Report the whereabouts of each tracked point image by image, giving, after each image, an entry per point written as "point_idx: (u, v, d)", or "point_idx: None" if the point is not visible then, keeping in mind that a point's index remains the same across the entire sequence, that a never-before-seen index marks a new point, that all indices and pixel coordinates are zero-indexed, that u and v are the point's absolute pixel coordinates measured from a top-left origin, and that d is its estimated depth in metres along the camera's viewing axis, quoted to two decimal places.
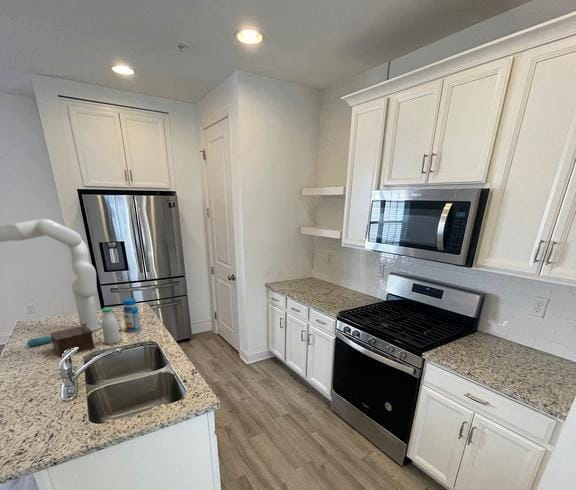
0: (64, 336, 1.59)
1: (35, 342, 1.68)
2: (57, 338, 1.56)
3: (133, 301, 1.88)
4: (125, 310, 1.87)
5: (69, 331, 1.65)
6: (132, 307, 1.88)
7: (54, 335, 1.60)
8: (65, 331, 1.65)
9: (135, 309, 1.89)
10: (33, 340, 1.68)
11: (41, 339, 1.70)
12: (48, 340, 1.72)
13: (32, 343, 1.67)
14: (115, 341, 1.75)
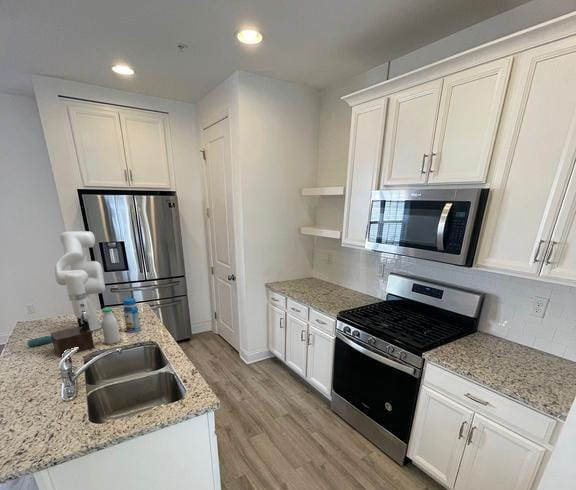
0: (64, 336, 1.59)
1: (35, 342, 1.68)
2: (57, 338, 1.56)
3: (133, 301, 1.88)
4: (125, 310, 1.87)
5: (69, 331, 1.65)
6: (132, 307, 1.88)
7: (54, 335, 1.60)
8: (65, 331, 1.65)
9: (135, 309, 1.89)
10: (33, 340, 1.68)
11: (41, 339, 1.70)
12: (48, 340, 1.72)
13: (32, 343, 1.67)
14: (115, 341, 1.75)
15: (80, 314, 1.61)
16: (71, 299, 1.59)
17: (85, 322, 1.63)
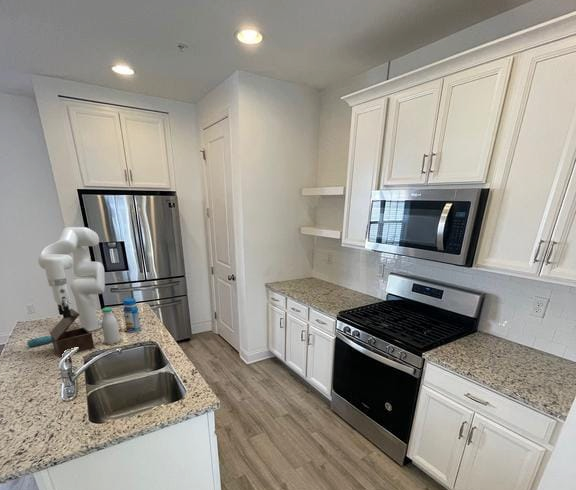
0: (60, 332, 1.57)
1: (35, 342, 1.68)
2: (56, 337, 1.56)
3: (133, 301, 1.88)
4: (125, 310, 1.87)
5: (62, 324, 1.61)
6: (132, 307, 1.88)
7: (53, 334, 1.59)
8: (59, 325, 1.62)
9: (135, 309, 1.89)
10: (33, 340, 1.68)
11: (41, 339, 1.70)
12: (48, 340, 1.72)
13: (32, 343, 1.67)
14: (115, 341, 1.75)
15: (60, 300, 1.53)
16: (50, 284, 1.51)
17: (66, 309, 1.55)
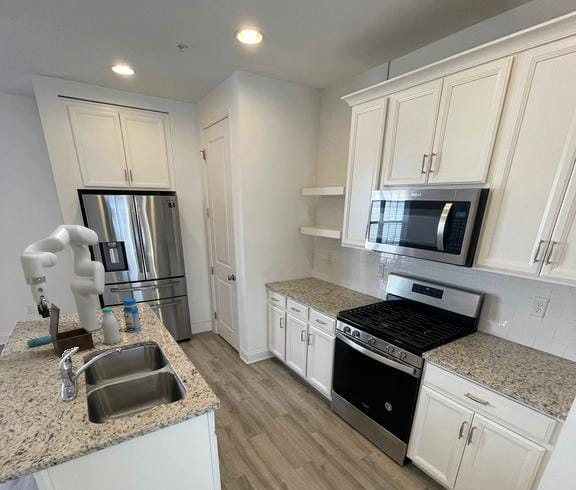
0: (54, 331, 1.55)
1: (35, 342, 1.68)
2: (54, 338, 1.55)
3: (133, 301, 1.88)
4: (125, 310, 1.87)
5: (52, 322, 1.58)
6: (132, 307, 1.88)
7: (51, 335, 1.59)
8: (51, 324, 1.59)
9: (135, 309, 1.89)
10: (33, 340, 1.68)
11: (41, 339, 1.70)
12: (48, 340, 1.72)
13: (32, 343, 1.67)
14: (115, 341, 1.75)
15: (38, 299, 1.46)
16: (28, 283, 1.45)
17: (44, 308, 1.49)
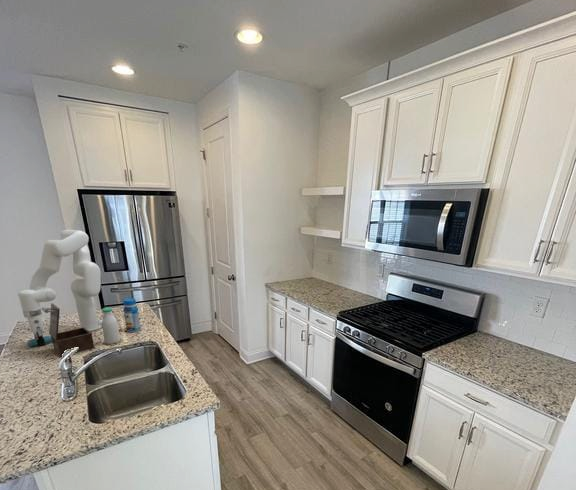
0: (54, 331, 1.55)
1: (35, 342, 1.68)
2: (54, 338, 1.55)
3: (133, 301, 1.88)
4: (125, 310, 1.87)
5: (52, 322, 1.58)
6: (132, 307, 1.88)
7: (51, 335, 1.59)
8: (51, 324, 1.59)
9: (135, 309, 1.89)
10: (33, 340, 1.68)
11: None
12: (48, 340, 1.72)
13: (32, 343, 1.67)
14: (115, 341, 1.75)
15: (35, 330, 1.64)
16: (25, 316, 1.62)
17: (40, 338, 1.67)
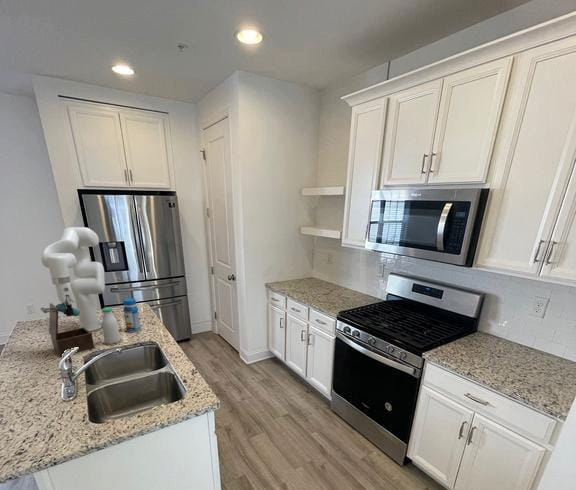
0: (54, 331, 1.55)
1: (64, 307, 1.58)
2: (54, 338, 1.55)
3: (133, 301, 1.88)
4: (125, 310, 1.87)
5: (51, 322, 1.58)
6: (132, 307, 1.88)
7: (51, 335, 1.59)
8: (50, 324, 1.59)
9: (135, 309, 1.89)
10: (64, 305, 1.58)
11: None
12: (76, 312, 1.62)
13: (61, 307, 1.57)
14: (115, 341, 1.75)
15: (64, 298, 1.54)
16: (54, 282, 1.52)
17: (69, 307, 1.57)
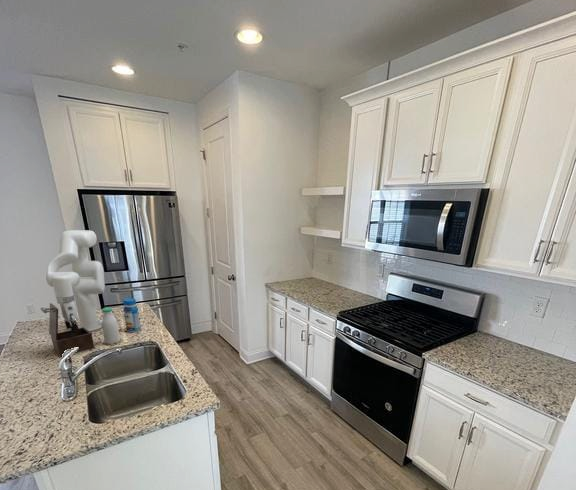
0: (54, 331, 1.55)
1: None
2: (54, 338, 1.55)
3: (133, 301, 1.88)
4: (125, 310, 1.87)
5: (51, 322, 1.58)
6: (132, 307, 1.88)
7: (51, 335, 1.59)
8: (50, 324, 1.59)
9: (135, 309, 1.89)
10: None
11: None
12: None
13: None
14: (115, 341, 1.75)
15: (68, 317, 1.57)
16: (59, 302, 1.56)
17: (74, 325, 1.59)
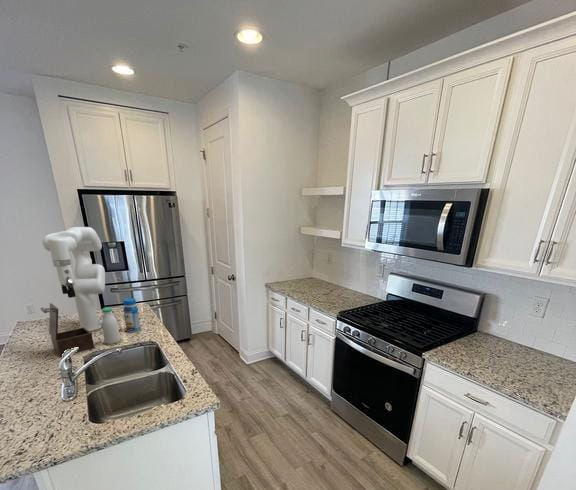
0: (54, 331, 1.55)
1: None
2: (54, 338, 1.55)
3: (133, 301, 1.88)
4: (125, 310, 1.87)
5: (51, 322, 1.58)
6: (132, 307, 1.88)
7: (51, 335, 1.59)
8: (50, 324, 1.59)
9: (135, 309, 1.89)
10: None
11: None
12: None
13: None
14: (115, 341, 1.75)
15: (65, 281, 1.57)
16: (55, 265, 1.55)
17: (70, 288, 1.58)
